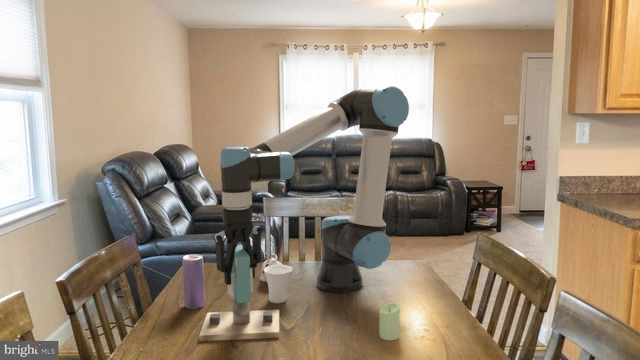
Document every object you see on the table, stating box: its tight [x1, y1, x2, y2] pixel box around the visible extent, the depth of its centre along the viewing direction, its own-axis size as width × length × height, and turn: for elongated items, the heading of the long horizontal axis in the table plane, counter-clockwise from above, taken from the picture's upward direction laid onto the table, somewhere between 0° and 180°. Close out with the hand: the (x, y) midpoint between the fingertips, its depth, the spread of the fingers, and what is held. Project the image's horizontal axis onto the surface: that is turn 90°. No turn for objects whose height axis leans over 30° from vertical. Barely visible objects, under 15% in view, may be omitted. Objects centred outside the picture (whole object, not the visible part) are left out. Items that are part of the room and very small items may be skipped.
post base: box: [198, 298, 280, 342], centre depth 128 cm, size 20×14×8 cm
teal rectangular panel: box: [232, 244, 251, 303], centre depth 127 cm, size 3×11×13 cm, turn 18°
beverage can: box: [182, 253, 206, 310], centre depth 142 cm, size 6×6×15 cm
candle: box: [378, 302, 401, 341], centre depth 122 cm, size 5×5×8 cm
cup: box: [264, 264, 294, 304], centre depth 146 cm, size 9×9×10 cm
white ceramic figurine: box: [259, 253, 284, 283], centre depth 162 cm, size 10×8×15 cm
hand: (240, 292), depth 128 cm, fingers closed on teal rectangular panel, 5 cm apart
